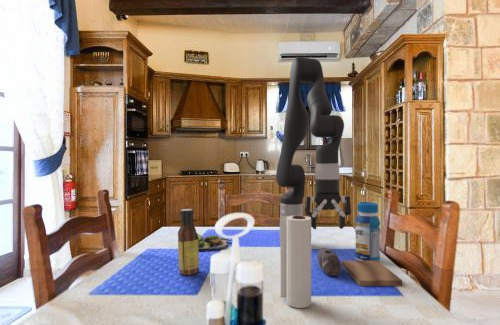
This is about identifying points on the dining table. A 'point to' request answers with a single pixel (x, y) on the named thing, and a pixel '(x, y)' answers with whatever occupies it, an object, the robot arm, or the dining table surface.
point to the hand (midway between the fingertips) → (327, 228)
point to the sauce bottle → (188, 244)
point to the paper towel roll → (296, 260)
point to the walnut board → (371, 273)
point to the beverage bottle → (367, 232)
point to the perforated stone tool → (329, 262)
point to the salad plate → (211, 242)
